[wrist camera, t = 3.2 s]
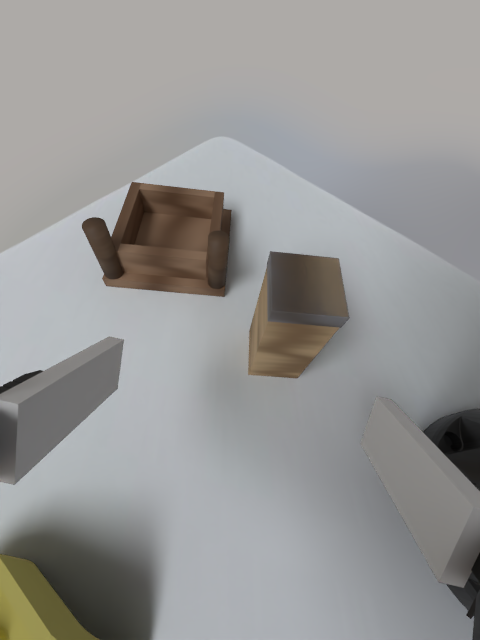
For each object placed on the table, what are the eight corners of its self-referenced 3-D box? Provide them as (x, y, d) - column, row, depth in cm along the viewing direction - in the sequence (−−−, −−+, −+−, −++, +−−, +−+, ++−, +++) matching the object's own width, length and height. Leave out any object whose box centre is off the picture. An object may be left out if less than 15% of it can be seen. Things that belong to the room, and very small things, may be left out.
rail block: (294, 334, 29) (338, 258, 19) (297, 378, 26) (349, 317, 17) (249, 330, 28) (270, 251, 19) (247, 375, 26) (271, 310, 16)
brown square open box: (230, 217, 36) (235, 162, 30) (224, 296, 30) (228, 247, 24) (133, 207, 35) (117, 147, 29) (106, 286, 29) (78, 231, 23)
